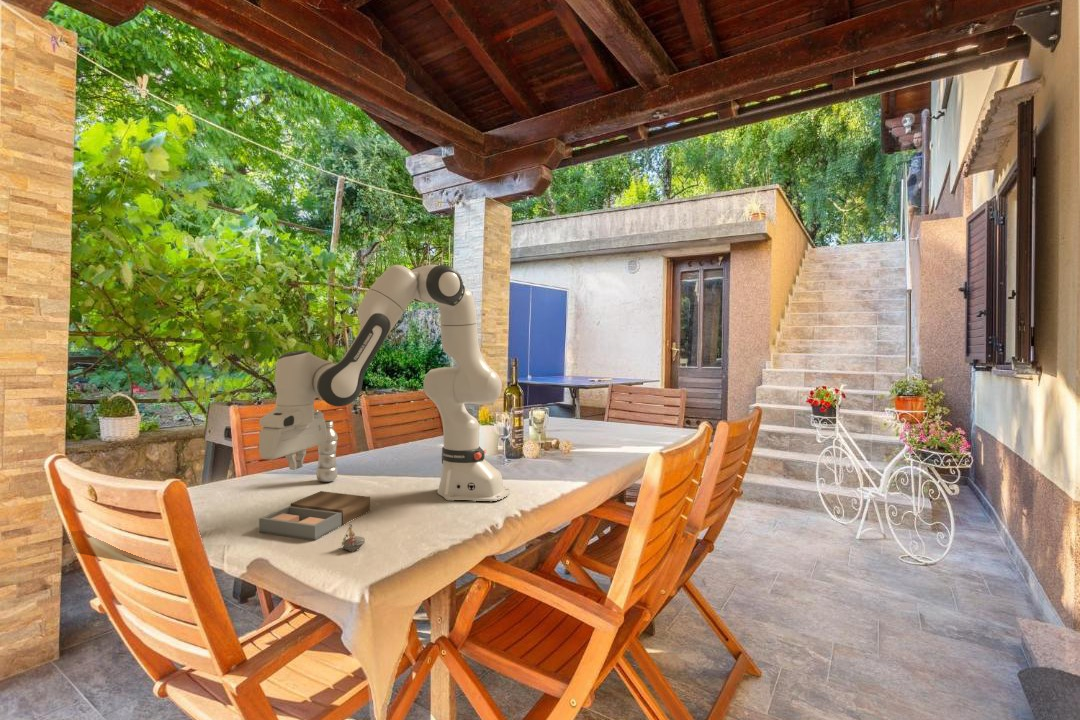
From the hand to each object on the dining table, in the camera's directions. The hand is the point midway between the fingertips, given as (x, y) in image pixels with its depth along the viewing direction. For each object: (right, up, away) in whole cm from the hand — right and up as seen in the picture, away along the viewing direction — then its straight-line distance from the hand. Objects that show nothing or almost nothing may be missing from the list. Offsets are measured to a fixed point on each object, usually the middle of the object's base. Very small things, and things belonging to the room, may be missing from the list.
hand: (296, 468), depth 136 cm
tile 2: (+6, -12, -6) cm, 15 cm away
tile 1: (-1, -11, -4) cm, 12 cm away
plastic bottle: (-8, -13, +39) cm, 42 cm away
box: (+3, -15, -3) cm, 15 cm away
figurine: (+20, -16, -15) cm, 29 cm away
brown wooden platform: (+6, -14, +8) cm, 17 cm away
